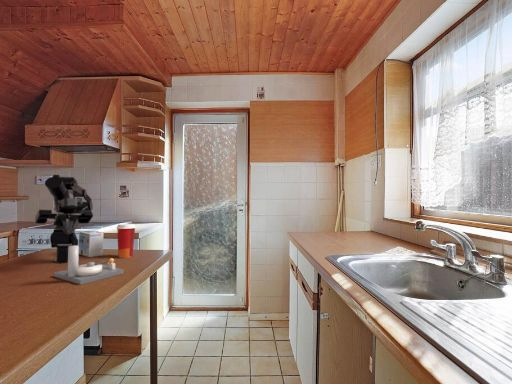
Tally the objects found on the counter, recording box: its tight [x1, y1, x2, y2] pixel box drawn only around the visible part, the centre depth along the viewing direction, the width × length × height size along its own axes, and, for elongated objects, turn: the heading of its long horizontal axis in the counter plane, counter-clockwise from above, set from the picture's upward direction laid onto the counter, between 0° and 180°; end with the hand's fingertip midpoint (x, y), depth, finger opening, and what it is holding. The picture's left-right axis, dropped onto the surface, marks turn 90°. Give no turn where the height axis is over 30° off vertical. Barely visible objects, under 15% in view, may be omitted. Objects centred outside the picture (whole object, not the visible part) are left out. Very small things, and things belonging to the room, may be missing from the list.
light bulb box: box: [78, 229, 105, 258], centre depth 141 cm, size 11×7×11 cm, turn 54°
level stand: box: [53, 257, 125, 285], centre depth 107 cm, size 16×16×5 cm
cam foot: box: [67, 244, 109, 277], centre depth 105 cm, size 14×9×10 cm, turn 149°
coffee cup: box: [116, 223, 137, 259], centre depth 137 cm, size 8×8×15 cm
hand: (68, 234), depth 114 cm, fingers closed
